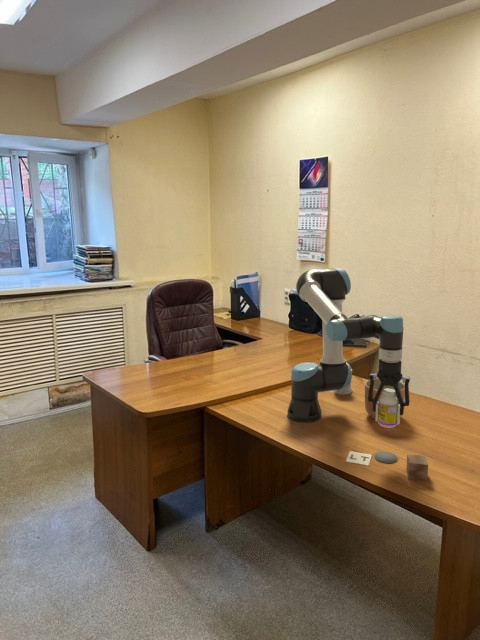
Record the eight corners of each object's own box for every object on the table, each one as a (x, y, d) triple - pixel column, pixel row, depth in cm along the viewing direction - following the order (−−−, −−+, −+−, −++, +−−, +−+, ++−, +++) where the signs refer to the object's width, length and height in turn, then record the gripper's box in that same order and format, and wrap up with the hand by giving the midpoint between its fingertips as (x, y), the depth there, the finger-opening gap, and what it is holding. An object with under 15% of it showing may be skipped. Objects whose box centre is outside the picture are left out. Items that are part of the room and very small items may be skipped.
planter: (362, 408, 214) (363, 377, 211) (401, 410, 211) (403, 378, 207) (364, 424, 198) (365, 390, 195) (406, 427, 194) (408, 392, 191)
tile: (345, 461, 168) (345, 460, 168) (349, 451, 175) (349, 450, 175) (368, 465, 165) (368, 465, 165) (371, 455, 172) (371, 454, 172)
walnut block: (408, 479, 156) (409, 463, 155) (406, 470, 162) (407, 454, 160) (427, 481, 155) (428, 464, 153) (424, 471, 160) (425, 455, 159)
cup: (333, 387, 241) (333, 365, 239) (351, 388, 240) (351, 365, 238) (334, 395, 231) (334, 372, 229) (352, 395, 230) (353, 372, 227)
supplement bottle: (375, 421, 170) (376, 387, 168) (392, 420, 171) (394, 386, 168) (382, 429, 164) (383, 394, 161) (400, 427, 164) (402, 393, 162)
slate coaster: (373, 460, 168) (373, 459, 168) (376, 450, 175) (376, 449, 175) (396, 465, 165) (396, 464, 165) (398, 454, 172) (398, 453, 172)
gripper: (359, 360, 163) (358, 421, 168) (419, 365, 155) (416, 429, 160) (363, 354, 169) (361, 413, 174) (420, 359, 162) (417, 421, 167)
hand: (387, 421), depth 167 cm, fingers closed on supplement bottle, 7 cm apart
